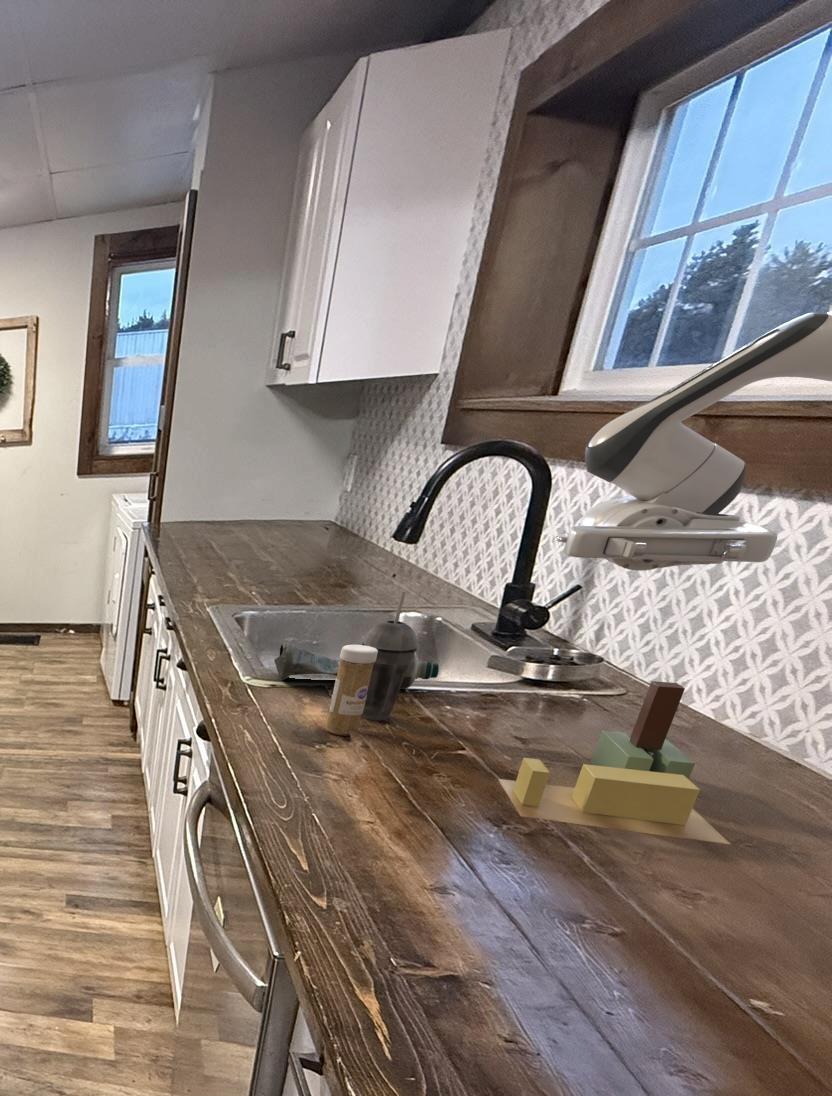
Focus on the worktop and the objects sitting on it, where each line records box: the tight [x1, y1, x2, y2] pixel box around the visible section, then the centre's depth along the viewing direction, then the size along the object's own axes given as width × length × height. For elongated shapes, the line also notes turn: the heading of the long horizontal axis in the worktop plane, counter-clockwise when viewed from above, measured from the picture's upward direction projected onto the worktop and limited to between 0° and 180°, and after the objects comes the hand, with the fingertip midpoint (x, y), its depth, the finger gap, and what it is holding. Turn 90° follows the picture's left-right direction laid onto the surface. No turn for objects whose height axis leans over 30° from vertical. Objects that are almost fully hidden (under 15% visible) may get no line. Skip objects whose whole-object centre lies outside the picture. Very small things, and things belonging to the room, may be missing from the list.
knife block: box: [590, 730, 696, 780], centre depth 104 cm, size 6×10×6 cm, turn 153°
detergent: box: [273, 641, 440, 690], centre depth 148 cm, size 13×7×25 cm
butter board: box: [497, 778, 731, 845], centre depth 98 cm, size 18×12×2 cm, turn 63°
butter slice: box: [513, 757, 551, 807], centre depth 100 cm, size 2×4×4 cm, turn 153°
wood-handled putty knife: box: [629, 680, 686, 757], centre depth 103 cm, size 2×5×14 cm, turn 153°
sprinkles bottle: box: [324, 644, 378, 737], centre depth 125 cm, size 5×5×13 cm
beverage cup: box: [361, 591, 418, 721], centre depth 130 cm, size 7×7×20 cm
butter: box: [572, 763, 701, 825], centre depth 96 cm, size 9×4×4 cm, turn 63°
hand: (686, 551), depth 105 cm, fingers open, 8 cm apart
